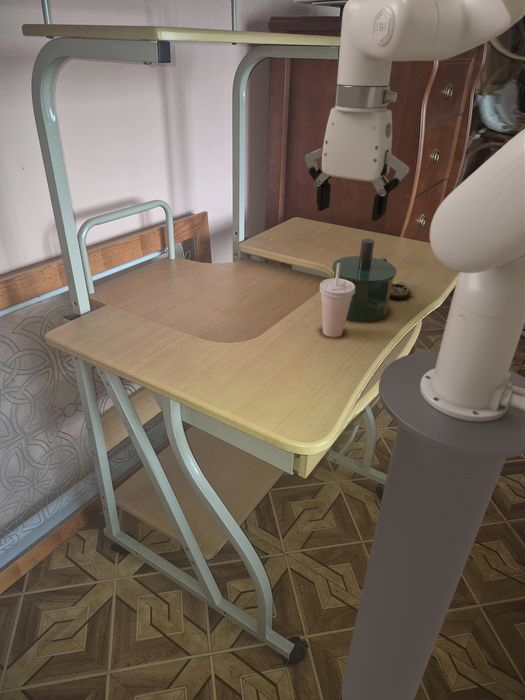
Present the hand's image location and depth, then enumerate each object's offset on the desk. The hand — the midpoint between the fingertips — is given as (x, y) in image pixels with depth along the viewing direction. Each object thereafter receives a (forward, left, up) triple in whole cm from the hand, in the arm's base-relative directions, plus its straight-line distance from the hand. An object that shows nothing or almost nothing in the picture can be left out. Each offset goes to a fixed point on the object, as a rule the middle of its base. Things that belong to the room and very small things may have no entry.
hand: (349, 213), depth 83 cm
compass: (-3, -23, -23) cm, 32 cm away
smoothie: (0, +1, -23) cm, 23 cm away
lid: (0, -11, -14) cm, 18 cm away
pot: (0, -11, -22) cm, 25 cm away
